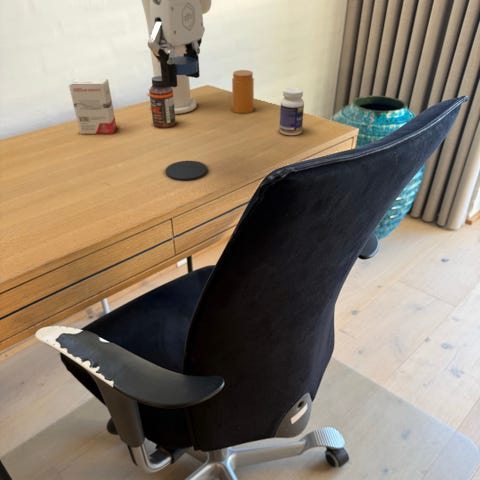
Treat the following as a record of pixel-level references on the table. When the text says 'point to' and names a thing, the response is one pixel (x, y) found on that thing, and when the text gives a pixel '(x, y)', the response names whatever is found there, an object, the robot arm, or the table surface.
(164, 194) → the table surface
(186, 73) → the jar lid
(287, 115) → the pill bottle
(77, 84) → the ink box
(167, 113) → the supplement bottle
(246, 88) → the jar
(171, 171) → the coaster
